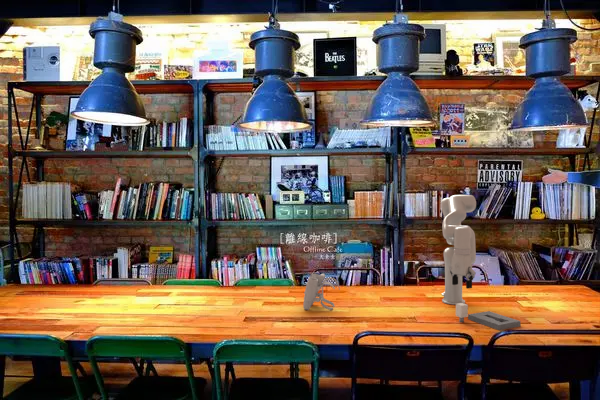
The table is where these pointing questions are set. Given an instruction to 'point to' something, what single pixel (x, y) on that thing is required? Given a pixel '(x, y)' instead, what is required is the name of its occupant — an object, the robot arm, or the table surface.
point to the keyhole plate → (494, 320)
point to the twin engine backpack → (316, 291)
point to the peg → (461, 311)
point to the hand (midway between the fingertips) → (462, 286)
